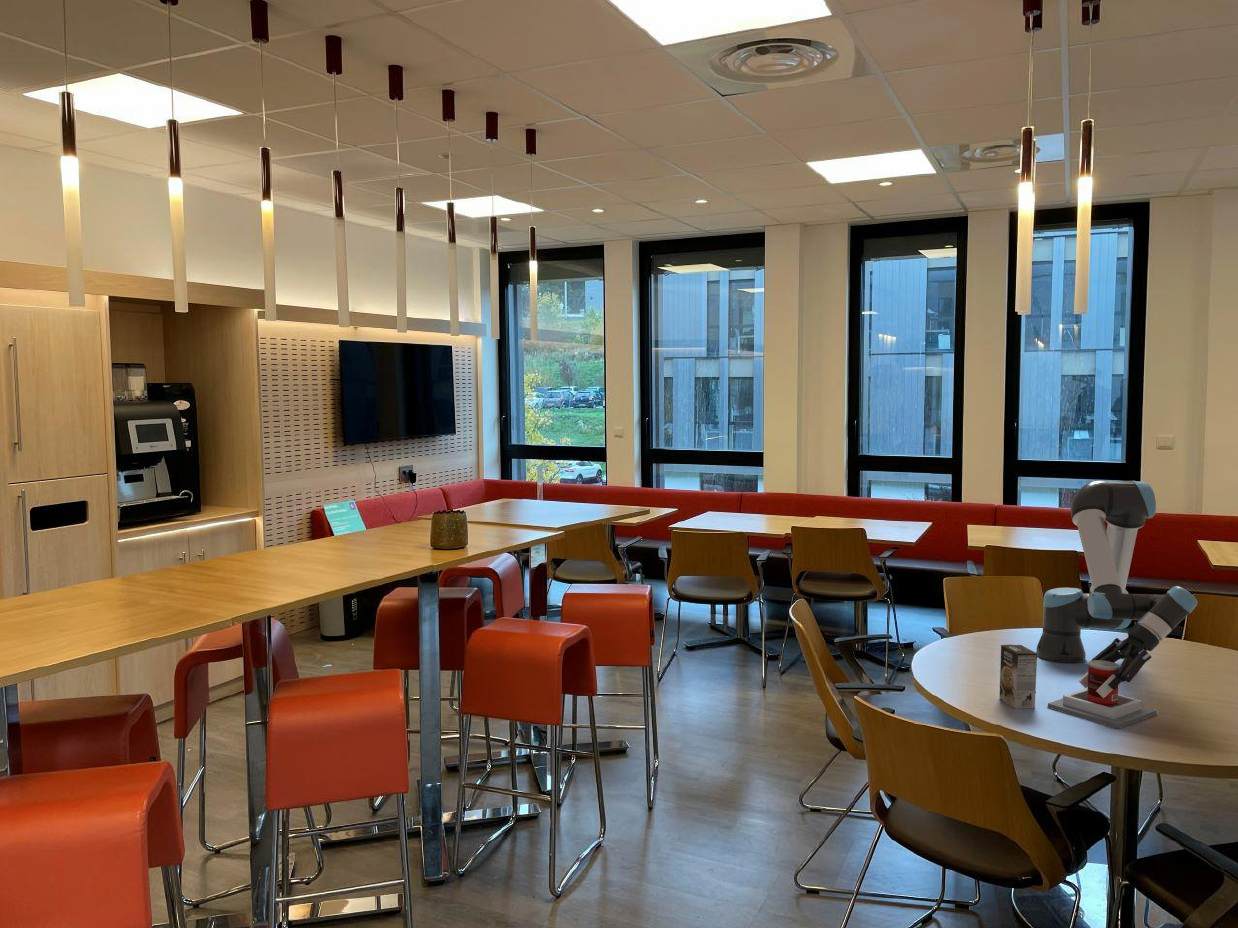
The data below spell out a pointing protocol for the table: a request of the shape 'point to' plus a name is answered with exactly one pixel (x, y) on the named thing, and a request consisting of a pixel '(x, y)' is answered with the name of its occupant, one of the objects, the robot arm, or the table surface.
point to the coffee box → (1018, 676)
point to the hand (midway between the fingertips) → (1090, 689)
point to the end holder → (1104, 709)
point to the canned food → (1101, 682)
